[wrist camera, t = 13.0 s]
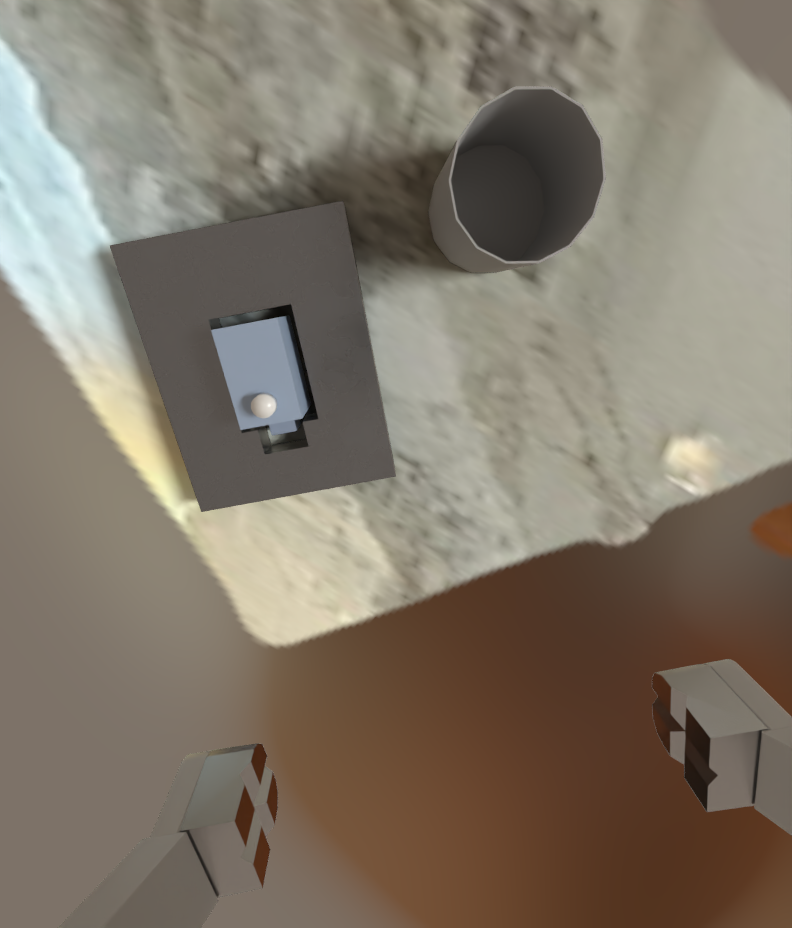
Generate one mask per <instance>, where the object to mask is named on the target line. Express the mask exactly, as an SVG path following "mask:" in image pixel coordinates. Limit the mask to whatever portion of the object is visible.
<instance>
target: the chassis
mask: <svg viewBox="0 0 792 928" xmlns="http://www.w3.org/2000/svg"><path fill="white" fill-rule="evenodd" d="M110 248H111V251H112V254H113V257H114V259H115V262H116V265H117V268H118V271H119V274H120V277H121V280H122V283H123V286H124V289H125V291H126V294H127V297H128V300H129V303H130V306H131V309H132V312H133V315H134V318H135V320H136V323H137V326H138V329H139V332H140V335H141V338H142V341H143V344H144V347H145V349H146V352H147V355H148V358H149V361H150V364H151V367H152V370H153V373H154V376H155V379H156V381H157V384H158V387H159V390H160V393H161V396H162V399H163V402H164V405H165V408H166V410H167V413H168V416H169V419H170V422H171V425H172V428H173V431H174V434H175V437H176V439H177V442H178V445H179V448H180V451H181V454H182V457H183V460H184V463H185V466H186V469H187V471H188V474H189V477H190V480H191V483H192V486H193V489H194V492H195V495H196V498H197V500H198V503H199V506H200V509H201V512H204V511H209V510H214V509H220V508H225V507H231V506H236V505H242V504H247V503H253V502H258V501H264V500H269V499H275V498H280V497H286V496H291V495H296V494H302V493H307V492H313V491H318V490H324V489H329V488H335V487H340V486H346V485H351V484H357V483H362V482H367V481H373V480H378V479H384V478H389V477H395V476H396V474H395V466H394V461H393V455H392V450H391V445H390V440H389V434H388V429H387V424H386V419H385V413H384V408H383V403H382V398H381V392H380V387H379V382H378V377H377V371H376V366H375V361H374V356H373V350H372V345H371V340H370V335H369V329H368V324H367V319H366V314H365V308H364V303H363V298H362V293H361V287H360V282H359V277H358V272H357V266H356V261H355V256H354V251H353V245H352V240H351V235H350V230H349V224H348V219H347V214H346V209H345V205H344V202H343V201H339V202H334V203H329V204H323V205H318V206H313V207H308V208H303V209H297V210H292V211H287V212H282V213H277V214H271V215H266V216H261V217H256V218H251V219H246V220H240V221H235V222H230V223H225V224H220V225H214V226H209V227H204V228H199V229H194V230H188V231H183V232H178V233H173V234H168V235H163V236H157V237H152V238H147V239H142V240H137V241H131V242H126V243H121V244H116V245H111V246H110ZM287 305H291V306H292V310H293V314H294V318H295V323H296V327H297V331H298V335H299V339H300V344H301V348H302V352H303V356H304V360H305V365H306V369H307V373H308V377H309V381H310V386H311V390H312V394H313V398H314V402H315V406H316V411H317V413H313V414H307V415H306V417H305V419H304V420H303V426H304V430H305V434H306V438H307V439H303V440H298V441H292V442H287V443H282V444H276V445H271V443H270V439H269V436H268V432H267V428H266V425H265V426H260V427H254V428H249V429H243V430H240V426H239V423H238V419H237V416H236V413H235V409H234V406H233V403H232V399H231V396H230V392H229V389H228V386H227V382H226V379H225V376H224V372H223V369H222V365H221V362H220V359H219V355H218V352H217V349H216V345H215V342H214V338H213V335H212V332H211V330H214V329H219V328H222V327H221V323H220V320H219V318H223V317H229V316H234V315H239V314H244V313H250V312H255V311H260V310H266V309H271V308H276V307H281V306H287Z"/></svg>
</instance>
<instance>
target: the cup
mask: <svg viewBox="0 0 792 928" xmlns="http://www.w3.org/2000/svg"><path fill="white" fill-rule="evenodd" d="M605 180H606V175H605V164H604V153H603V141H602V137H601V136H600V134H599V132H598V130H597V129H596V127H595V125H594V123H593V122H592V120H591V118H590V116H589V115H588V113H587V111H586V109H585V108H584V106H583V105H582V104H580V103H578V102H577V101H575V100H574V99H572V98H570V97H569V96H567V95H565V94H564V93H562V92H560V91H559V90H557V89H555V88H554V87H552V86H520V87H513V88H511V89H510V90H508V91H506V92H504V93H503V94H501V95H499V96H497V97H496V98H494V99H492V100H490V101H489V102H487V103H485V104H483V105H482V106H480V108H479V109H478V111H477V112H476V114H475V115H474V117H473V118H472V119H471V121H470V122H469V124H468V125H467V127H466V128H465V129H464V131H463V132H462V134H461V135H460V137H459V138H458V140H457V141H456V143H455V145H454V147H453V149H452V151H451V153H450V155H449V156H448V158H447V160H446V162H445V164H444V166H443V168H442V170H441V172H440V174H439V175H438V177H437V179H436V181H435V183H434V187H433V191H432V196H431V201H430V206H429V211H428V215H429V219H430V224H431V229H432V234H433V239H434V241H435V243H436V244H437V246H438V247H439V248H440V250H441V251H442V252H443V254H444V255H445V257H446V258H447V259H448V261H449V262H451V263H453V264H455V265H457V266H459V267H461V268H463V269H465V270H467V271H469V272H470V273H494V272H500V271H505V270H510V269H514V268H519V267H524V266H528V265H533V264H537V263H540V262H542V261H544V260H546V259H548V258H550V257H552V256H554V255H556V254H557V253H559V252H561V251H563V250H565V249H567V248H569V247H571V245H572V244H573V243H574V242H575V240H576V239H577V238H578V237H579V235H580V234H581V233H582V232H583V230H584V229H585V228H586V227H587V225H588V224H589V223H590V222H591V220H592V219H593V218H594V216H595V213H596V209H597V206H598V203H599V199H600V196H601V193H602V190H603V186H604V183H605Z"/></svg>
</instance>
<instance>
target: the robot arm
mask: <svg viewBox="0 0 792 928" xmlns="http://www.w3.org/2000/svg"><path fill="white" fill-rule="evenodd" d="M652 688H653V689H654V691H655V693H656V694H657V695H658V698H657V699H656V700H655V702H654V703H653V704H652V713H653V720H654V724H655V727H656V731H657V733H658V736H659V738H660V740H661V741H662V744H663V745H664V747H665V749H666V750H667V752H668V753H669V755H670V756H671V757H673V758H674V759H676V760H678V761H679V762H681V763H682V764H684V778H685V780H686V781H687V783H688V784H689V785H690V787H691V788H692V790H693V792H694V793H695V795H696V796H697V798H698V799H699V801H700V802H701V804H702V805H703V807H704V808H705V810H706V811H707V812H711V811H718V810H726V809H733V808H740V807H746V806H754V805H755V807H754V808H755V809H756V810H757V811H759V812H760V813H762V814H763V815H764V816H766V817H767V818H768V819H770V820H771V821H773V822H774V823H775V824H777V825H778V826H779V827H781V828H782V829H784V830H785V831H786V832H788V833H789V834H790V835H792V717H791V716H790V715H789V714H788V713H787V712H786V711H785V710H784V709H783V708H782V707H781V706H780V705H779V704H778V703H777V702H776V701H775V700H774V699H773V698H772V697H771V696H770V695H769V694H767V692H766V691H764V689H762V687H760V686H759V685H758V684H757V683H756V682H755V681H754V680H753V679H752V678H751V677H750V676H749V675H748V674H747V673H746V672H745V671H744V670H743V669H742V668H741V667H740V666H739V665H738V664H737V663H736V662H734V661H732V660H730V659H727V660H721V661H716V662H710V663H705V664H698V665H693V666H688V667H682V668H677V669H672V670H666V671H661V672H656V673H654V675H653V677H652ZM266 758H267V754H266V752H265V749H264V747H263V744H251V745H244V746H238V747H231V748H224V749H217V750H212V751H206V752H200V753H193V754H188V755H187V756H186V758H185V759H184V760H183V761H182V762H181V765H180V767H179V769H178V772H177V774H176V777H175V779H174V781H173V784H172V786H171V789H170V791H169V793H168V796H167V799H166V801H165V803H164V805H163V808H162V810H161V812H160V815H159V817H158V820H157V822H156V824H155V827H154V829H153V832H152V834H151V836H150V838H146V839H142V840H141V841H140V843H138V844H137V845H136V847H134V849H133V850H132V851H131V852H130V853H129V854H128V855H127V856H126V857H125V858H124V859H123V860H122V861H121V862H120V863H119V864H118V865H117V866H116V867H115V868H114V870H113V871H112V872H111V873H110V874H109V875H108V876H107V877H106V878H105V879H104V880H103V881H102V882H101V883H100V884H99V885H98V887H96V888H95V889H94V891H93V892H92V893H91V894H90V895H89V896H88V897H87V898H86V899H85V900H84V901H83V902H82V903H81V904H80V905H79V906H78V908H76V910H75V911H74V912H73V913H72V914H71V915H70V916H69V917H68V918H67V919H66V920H65V921H64V922H63V923H62V924H61V925H60V926H59V927H58V928H201V927H202V925H203V924H204V923H205V921H206V920H207V918H208V916H209V915H210V913H211V912H212V910H213V909H214V907H215V905H216V904H217V902H218V897H223V896H228V895H233V894H238V893H243V892H248V891H252V890H257V889H262V888H263V885H264V879H265V874H266V869H267V864H268V858H269V853H270V847H269V844H268V842H267V839H266V836H267V835H268V833H269V832H270V831H271V829H272V828H273V827H274V825H275V820H276V815H277V809H278V806H277V805H278V790H277V785H276V779H275V776H274V773H273V771H271V770H270V769H268V768H267V767H265V763H266Z"/></svg>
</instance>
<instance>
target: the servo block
mask: <svg viewBox="0 0 792 928" xmlns="http://www.w3.org/2000/svg"><path fill="white" fill-rule="evenodd" d="M211 332H212V335H213V338H214V342H215V345H216V349H217V352H218V355H219V359H220V362H221V365H222V369H223V372H224V376H225V379H226V382H227V386H228V389H229V392H230V396H231V399H232V403H233V406H234V409H235V413H236V416H237V419H238V423H239V426H240V430H243V429H249V428H254V427H260V426H265V425H269V427H270V431H271V434H272V435H277V434H283V433H288V432H294V431H297V430H298V428H299V426H300V425H301V424H300V420H299V419H302V418H303V417H304V415H305V413H306V412H307V410H308V409H309V407H310V405H311V401H310V397H309V393H308V389H307V384H306V380H305V376H304V372H303V368H302V364H301V360H300V355H299V351H298V347H297V343H296V339H295V335H294V331H293V326H292V322H291V318H290V315H289V316H283V317H277V318H272V319H267V320H261V321H256V322H251V323H246V324H240V325H235V326H230V327H225V328H219V329H214V330H211Z"/></svg>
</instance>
